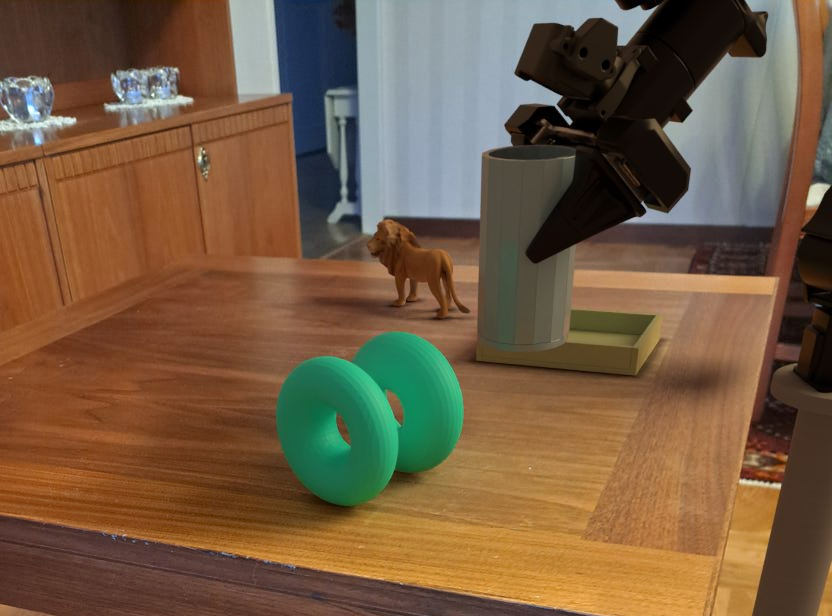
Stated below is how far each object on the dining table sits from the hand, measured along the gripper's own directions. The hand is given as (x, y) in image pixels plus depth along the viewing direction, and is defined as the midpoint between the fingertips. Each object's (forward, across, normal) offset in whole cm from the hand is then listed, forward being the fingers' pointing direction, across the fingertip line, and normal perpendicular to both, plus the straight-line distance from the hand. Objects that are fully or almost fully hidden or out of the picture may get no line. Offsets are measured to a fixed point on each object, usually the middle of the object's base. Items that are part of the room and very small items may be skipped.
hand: (508, 249), depth 69 cm
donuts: (+19, +8, 0) cm, 21 cm away
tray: (0, -16, +20) cm, 26 cm away
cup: (+4, 0, +6) cm, 7 cm away
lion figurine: (+6, -38, +14) cm, 41 cm away
